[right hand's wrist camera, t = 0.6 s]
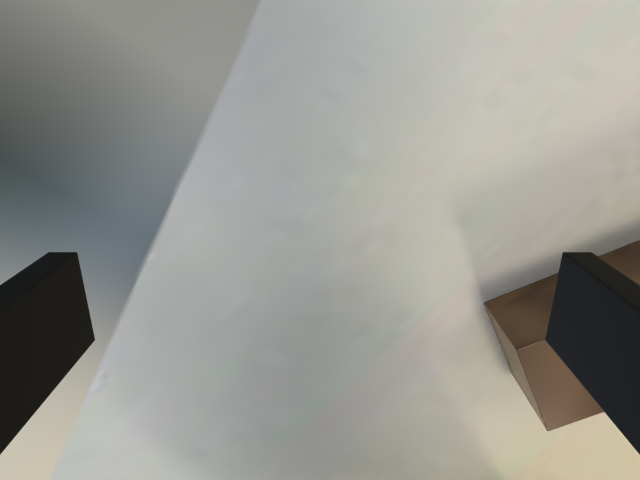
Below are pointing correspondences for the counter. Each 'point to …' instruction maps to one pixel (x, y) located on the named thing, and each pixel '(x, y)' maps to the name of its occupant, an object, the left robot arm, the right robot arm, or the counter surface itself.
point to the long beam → (547, 345)
